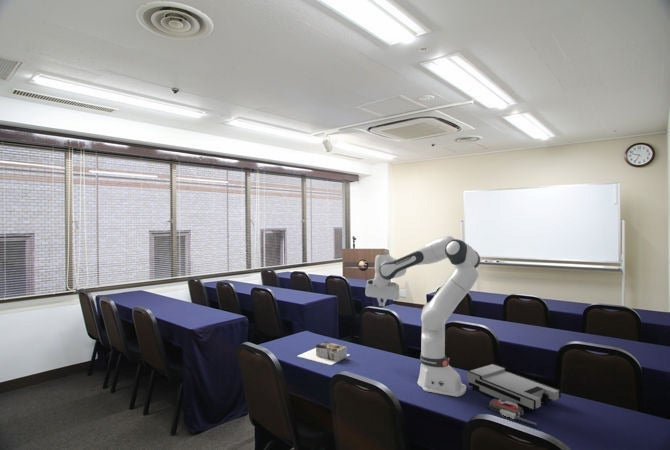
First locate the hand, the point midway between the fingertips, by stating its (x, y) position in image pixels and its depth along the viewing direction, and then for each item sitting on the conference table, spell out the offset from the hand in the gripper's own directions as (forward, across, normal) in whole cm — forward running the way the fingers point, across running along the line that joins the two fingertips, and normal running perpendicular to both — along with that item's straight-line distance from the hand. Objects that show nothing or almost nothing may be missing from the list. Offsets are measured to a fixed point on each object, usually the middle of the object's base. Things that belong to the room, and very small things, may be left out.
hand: (381, 306), depth 211 cm
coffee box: (+28, +18, +13) cm, 35 cm away
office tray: (+32, -69, +7) cm, 76 cm away
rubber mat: (+31, +31, +13) cm, 46 cm away
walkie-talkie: (+32, -72, +25) cm, 82 cm away
